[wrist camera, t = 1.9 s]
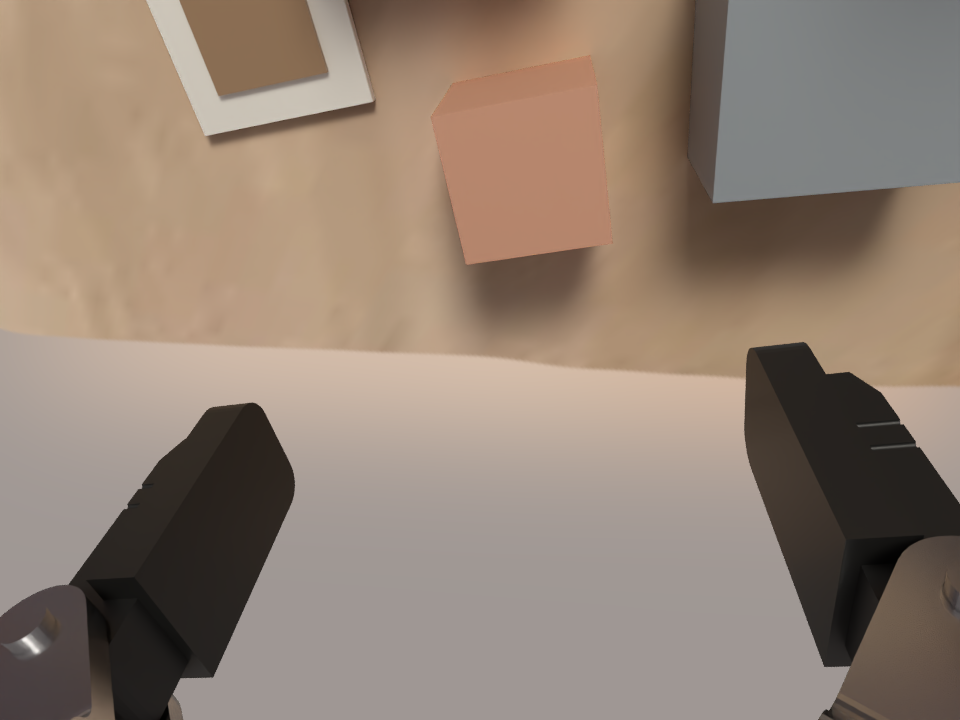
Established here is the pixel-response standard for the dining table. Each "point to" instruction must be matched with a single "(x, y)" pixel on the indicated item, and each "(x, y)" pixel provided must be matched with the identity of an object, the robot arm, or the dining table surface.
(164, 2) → the white square frame
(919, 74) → the slate block
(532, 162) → the terracotta cube
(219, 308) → the dining table surface
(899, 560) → the robot arm
